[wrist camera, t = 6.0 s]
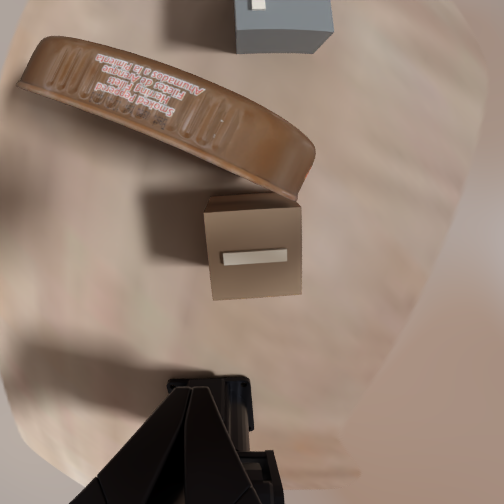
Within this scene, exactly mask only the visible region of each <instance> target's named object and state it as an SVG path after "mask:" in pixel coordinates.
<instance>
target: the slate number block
mask: <svg viewBox="0 0 504 504" xmlns="http://www.w3.org/2000/svg"><path fill="white" fill-rule="evenodd" d="M234 15H235V34H236V52H237V54H251V53H305V54H313V53H314V52H315V51H316V50H317V49H318V48H319V47H320V46H321V45H322V44H323V43H324V42H325V41H326V40H327V39H328V38H329V37H330V36H331V35H332V34H333V33H334V27H333V18H332V10H331V2H330V0H234Z"/></svg>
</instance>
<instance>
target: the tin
mask: <svg viewBox="0 0 504 504" xmlns="http://www.w3.org/2000/svg"><path fill="white" fill-rule="evenodd" d="M16 87H19V88H22V89H24V90H27V91H30V92H33V93H36V94H39V95H42V96H45V97H47V98H50V99H54V100H56V101H59V102H62V103H65V104H67V105H70V106H73V107H76V108H78V109H81V110H84V111H86V112H89V113H92V114H94V115H97V116H100V117H102V118H105V119H108V120H110V121H113V122H116V123H118V124H120V125H123V126H125V127H128V128H130V129H133V130H135V131H138V132H141V133H143V134H145V135H148V136H150V137H153V138H155V139H157V140H159V141H162V142H164V143H167V144H169V145H171V146H174V147H176V148H179V149H181V150H183V151H185V152H187V153H190V154H192V155H194V156H196V157H198V158H201V159H203V160H205V161H207V162H210V163H212V164H214V165H216V166H218V167H220V168H222V169H225V170H227V171H229V172H231V173H234V174H236V175H238V176H240V177H243V178H245V179H247V180H249V181H251V182H253V183H255V184H258V185H260V186H262V187H264V188H266V189H269V190H271V191H273V192H275V193H277V194H279V195H281V196H284V197H286V198H288V199H290V200H293V201H297V199H298V192H299V190H300V188H301V186H302V184H303V182H304V180H305V178H306V176H307V174H308V172H309V170H310V169H311V167H312V165H313V162H314V159H315V155H316V151H315V147H314V145H313V143H312V142H311V141H310V140H309V139H308V137H307V136H305V135H304V134H303V133H302V132H301V131H300V130H299V129H297V128H296V127H295V126H293V125H292V124H291V123H289V122H288V121H286V120H285V119H283V118H282V117H280V116H279V115H277V114H275V113H273V112H272V111H270V110H268V109H267V108H265V107H263V106H261V105H259V104H257V103H256V102H254V101H252V100H250V99H248V98H246V97H244V96H242V95H239V94H237V93H235V92H233V91H231V90H228V89H226V88H224V87H221V86H219V85H217V84H215V83H212V82H210V81H207V80H205V79H203V78H200V77H198V76H196V75H193V74H191V73H188V72H185V71H182V70H180V69H178V68H175V67H172V66H169V65H167V64H164V63H161V62H158V61H155V60H152V59H149V58H146V57H143V56H140V55H137V54H134V53H131V52H127V51H124V50H120V49H116V48H113V47H109V46H106V45H102V44H98V43H94V42H89V41H85V40H81V39H77V38H71V37H64V36H49V37H46V38H44V39H42V40H41V41H40V43H39V44H38V46H37V47H36V49H35V51H34V52H33V54H32V56H31V58H30V60H29V63H28V65H27V67H26V69H25V71H24V73H23V75H22V78H21V80H20V81H19V82H18V83H17V84H16Z"/></svg>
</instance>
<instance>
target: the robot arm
mask: <svg viewBox="0 0 504 504" xmlns="http://www.w3.org/2000/svg"><path fill="white" fill-rule="evenodd" d="M242 383H246V384H242ZM172 385H175V386H172ZM167 390H168V393H169V395H168V396H167V397H166V399H165V400H164V401H163V402H162V403H161V404H160V405H159V407H158V408H157V409H156V410H155V411H154V412H153V413H152V415H151V416H150V417H149V418H148V419H147V420H146V421H145V422H144V424H143V425H142V426H141V427H140V428H139V429H138V430H137V432H136V433H135V434H134V435H133V436H132V437H131V438H130V439H129V440H128V442H127V443H126V444H125V445H124V446H123V447H122V448H121V449H120V450H119V452H118V453H117V454H116V455H115V456H114V457H113V458H112V459H111V460H110V462H109V463H108V464H107V465H106V466H105V467H104V468H103V469H102V470H101V471H100V472H99V474H98V475H97V477H98V478H97V477H95V478H94V479H93V480H92V481H91V482H90V483H89V484H88V485H87V486H86V487H85V488H84V489H83V490H82V491H81V492H80V493H79V494H78V495H77V496H76V497H75V499H73V500H72V501H71V502H70V503H69V504H284V493H283V487H282V483H281V479H280V475H279V471H278V467H277V464H276V460H275V456H274V452H273V450H265V452H254V451H250V446H249V432H250V431H253V430H254V420H253V408H252V396H251V384H250V379H249V378H247V377H234V378H210V379H170V380H168V382H167Z"/></svg>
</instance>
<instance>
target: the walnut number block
mask: <svg viewBox="0 0 504 504" xmlns="http://www.w3.org/2000/svg"><path fill="white" fill-rule="evenodd" d="M204 223H205V234H206V243H207V253H208V262H209V271H210V280H211V289H212V297H213V301H215V300H232V299H247V298H262V297H275V296H288V295H300V294H302V216H301V206H300V205H299V204H298V203H297V202H296V201H293V200H290V199H288V198H286V197H284V196H281V195H279V194H277V193H275V192H274V193H256V194H240V195H225V196H212V197H211V198H210V200H209V202H208V204H207V207H206V209H205V211H204Z"/></svg>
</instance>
